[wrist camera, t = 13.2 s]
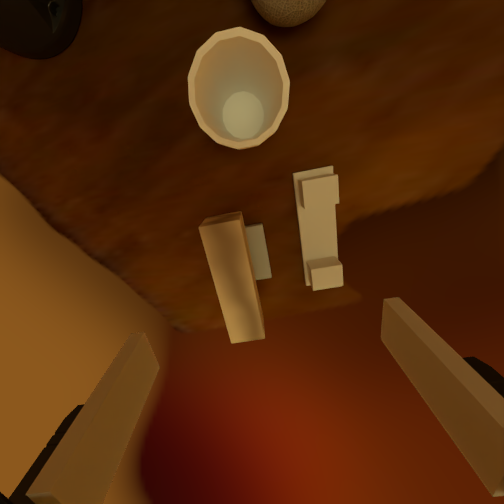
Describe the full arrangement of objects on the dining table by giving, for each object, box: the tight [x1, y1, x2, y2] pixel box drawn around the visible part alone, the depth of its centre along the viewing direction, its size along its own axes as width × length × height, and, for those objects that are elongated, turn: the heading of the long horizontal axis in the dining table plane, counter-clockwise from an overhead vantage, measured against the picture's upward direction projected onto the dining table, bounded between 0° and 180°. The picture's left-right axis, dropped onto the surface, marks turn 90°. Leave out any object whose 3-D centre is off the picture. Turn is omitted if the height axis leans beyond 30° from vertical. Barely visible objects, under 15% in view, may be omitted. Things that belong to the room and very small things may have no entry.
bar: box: [198, 211, 265, 343], centre depth 33 cm, size 5×18×5 cm, turn 11°
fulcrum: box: [245, 223, 272, 280], centre depth 38 cm, size 10×10×7 cm
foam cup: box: [188, 27, 290, 150], centre depth 27 cm, size 10×9×13 cm
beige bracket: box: [292, 166, 343, 291], centre depth 38 cm, size 6×20×4 cm, turn 11°
